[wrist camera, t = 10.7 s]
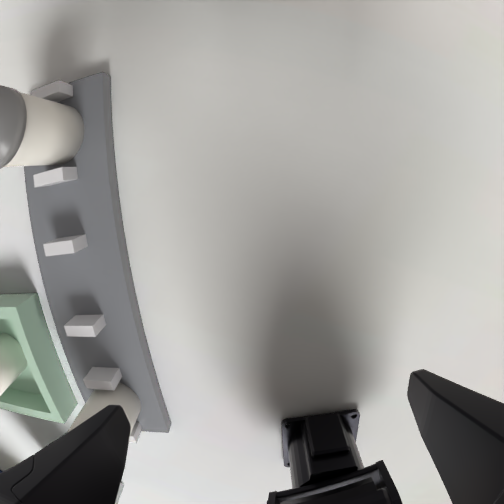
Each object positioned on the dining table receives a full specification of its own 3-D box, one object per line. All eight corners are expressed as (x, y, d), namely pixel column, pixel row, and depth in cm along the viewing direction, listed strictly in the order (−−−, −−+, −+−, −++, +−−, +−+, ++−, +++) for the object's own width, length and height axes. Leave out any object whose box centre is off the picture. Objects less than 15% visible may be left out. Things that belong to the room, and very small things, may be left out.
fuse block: (171, 423, 24) (150, 497, 16) (100, 417, 24) (67, 480, 16) (110, 76, 17) (42, 37, 9) (31, 103, 18) (-45, 88, 10)
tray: (77, 403, 24) (64, 423, 21) (2, 389, 24) (-12, 404, 21) (37, 292, 21) (15, 306, 18) (-35, 295, 21) (-54, 306, 18)
